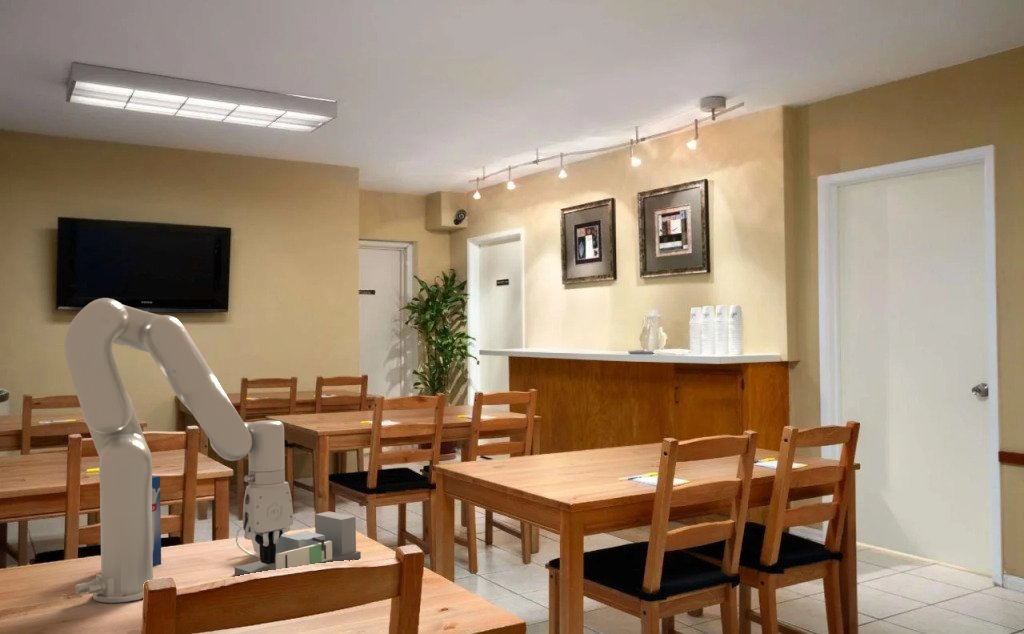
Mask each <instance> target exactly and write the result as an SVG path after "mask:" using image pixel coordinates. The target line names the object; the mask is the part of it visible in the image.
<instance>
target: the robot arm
mask: <svg viewBox="0 0 1024 634" xmlns="http://www.w3.org/2000/svg"><path fill="white" fill-rule="evenodd" d="M63 343H64V344H63V351H64V357H65V362H66V363H65V364H66V366H67V370H68V373H69V375H70V376H69V377H70V379H71V381H72V384H73V388H74V391H75V394H76V396H77V399H78V403H79V406H80V409H81V415H82V416H81V417H82V418H83V421H84V422H85V424H86V426H87V429H88V430H89V431H88V432H89V433H90V436H91V437H90V438H91V439H92V441H93V445H94V447H95V450H96V453H97V455H98V458H99V469H98V471H99V472H98V473H99V502H100V503H99V509H100V511H99V513H100V515H99V516H100V517H99V518H100V573H96V574H95V578H94V579H92V580H91V581H89V582H82V583H77V584H75V587H74V590H75V593H76V595H80V594H85V593H87V594H88V595H90V594H92V598H93V600H94V601H96V602H98V603H99V602H100V603H105V604H106V603H108V604H109V603H110V604H115V603H127V602H134V601H139V600H142V598H143V584H144V582H145V581H147V580H154V566H153V545H152V476H153V458H152V453H151V449H150V448H149V446H148V443H147V441H146V438H145V435H144V433H143V429H142V427H141V425H140V422H139V419H138V416H137V413H136V411H135V407H134V405H133V401H132V399H131V397H130V396H131V395H129V393H128V392H127V391H126V389H125V386H124V384H123V381H122V379H121V376H120V373H119V369H118V366H117V363H116V360H115V357H114V354H113V344H116V345H119V346H122V347H125V348H126V347H127V348H130V349H134V350H138V351H141V352H144V353H145V352H146V353H149V354H150V356H151V357H152V359H153V360H154V362H155V363H156V365H157V367H158V368H159V369H160V371H161V373H162V374H163V376H164V378H165V379H166V381H167V382H168V384H169V385H170V387H171V389H172V391H173V392H174V394H175V396H177V398H178V399H179V401H180V402H181V403H182V404H183V405H184V406H185V407H186V408H187V409H188V410H189V411H190V413H191V414H192V415H193V418H194V419H195V420H196V421H197V423H198V425H200V428H201V429H202V431H203V432H204V433H205V435H206V437H207V438H208V440H209V444H210V447H211V448H212V449H213V451H214V452H215V453H216V454H217V455H218V456H219V457H221V458H223V459H224V460H226V461H229V462H231V461H232V462H234V461H239V460H241V459H243V458H245V457H247V455H248V474H247V475H244V477H243V480H244V482H245V483H248V485H246V487H245V492H244V498H243V504H242V505H243V507H242V508H243V509H242V526H243V528H242V529H243V530H244V535H243V537H244V539H245V540H249V541H252V540H255V541H256V542H257V544H259V545H260V557H259V559H260V560H259V561H261V563H265V564H271V563H275V557H276V544H277V543H278V540H279V538H280V537H281V535H282V534H286V533H288V532H289V531H290V530H291V527H292V525H293V524H294V509H293V498H292V493H291V488H290V487H291V486H290V484H289V482H288V481H286V475H285V474H286V470H285V469H286V467H285V466H286V465H285V463H286V461H285V457H286V456H285V426H284V423H283V422H281V421H279V420H274V419H273V420H269V419H267V420H257V421H254V422H250V421H249V422H248V421H247V422H245V421H243V419H242V417H241V416H240V414H239V413H238V411H237V409H236V408H235V406H234V405H233V404H232V401H231V400H230V398H229V397H228V396H227V393H226V392H225V391H224V389H223V387H222V385H221V384H220V382H219V380H218V378H217V377H216V375H215V373H214V372H213V371H212V369H211V367H210V366H209V364H208V363H207V361H206V360H205V358H204V356H203V355H202V354H203V353H201V351H200V350H199V347H198V346H197V345H196V343H195V342H194V340H193V338H192V337H191V335H190V334H189V332H188V331H187V329H186V327H185V326H184V324H183V323H182V322H181V321H180V319H178V318H177V317H175V316H172V315H167V314H163V315H162V314H157V313H153V312H149V311H146V310H143V309H138V308H135V307H132V306H128V305H125V304H122V302H119V301H118V300H115V299H114V298H109V297H102V298H101V297H100V298H98V299H94V300H93V301H91V302H89V303H88V304H87V305H85V306H84V307H83V308H82V309H81V310H80V311H79V312H78V313H77V314H76V315H75V317H74V318H73V319H72V320H71V322H70V323H69V326H68V328H67V330H66V333H65V337H64V342H63ZM253 532H254V533H255V534H254V533H253ZM143 599H144V598H143Z"/></svg>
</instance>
